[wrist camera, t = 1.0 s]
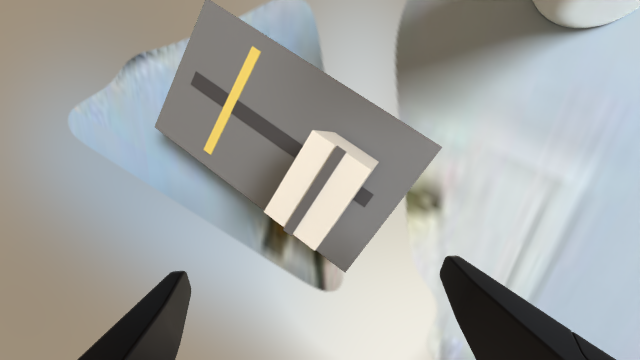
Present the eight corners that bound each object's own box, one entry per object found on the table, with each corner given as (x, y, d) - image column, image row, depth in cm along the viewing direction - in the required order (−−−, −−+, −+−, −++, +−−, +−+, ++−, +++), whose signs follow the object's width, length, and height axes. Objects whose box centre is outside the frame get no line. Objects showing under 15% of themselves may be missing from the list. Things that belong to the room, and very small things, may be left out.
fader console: (435, 145, 18) (442, 147, 15) (352, 254, 21) (345, 273, 18) (233, 17, 21) (205, -3, 18) (184, 128, 23) (153, 126, 20)
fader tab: (379, 161, 16) (372, 169, 11) (334, 224, 17) (313, 253, 13) (335, 131, 16) (311, 128, 12) (295, 195, 17) (261, 213, 13)
